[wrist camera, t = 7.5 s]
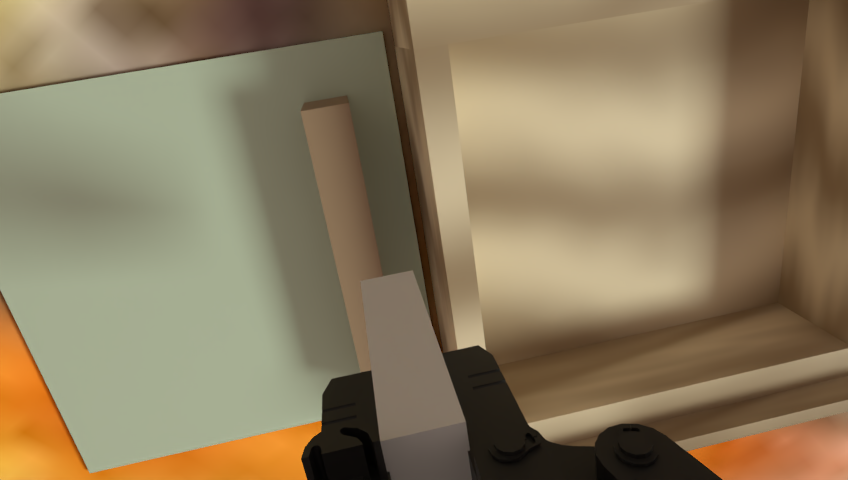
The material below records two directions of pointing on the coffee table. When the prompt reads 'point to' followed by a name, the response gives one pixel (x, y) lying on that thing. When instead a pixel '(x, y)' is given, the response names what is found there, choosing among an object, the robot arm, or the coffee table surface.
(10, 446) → the coffee table surface
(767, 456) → the coffee table surface
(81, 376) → the lid
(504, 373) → the box
